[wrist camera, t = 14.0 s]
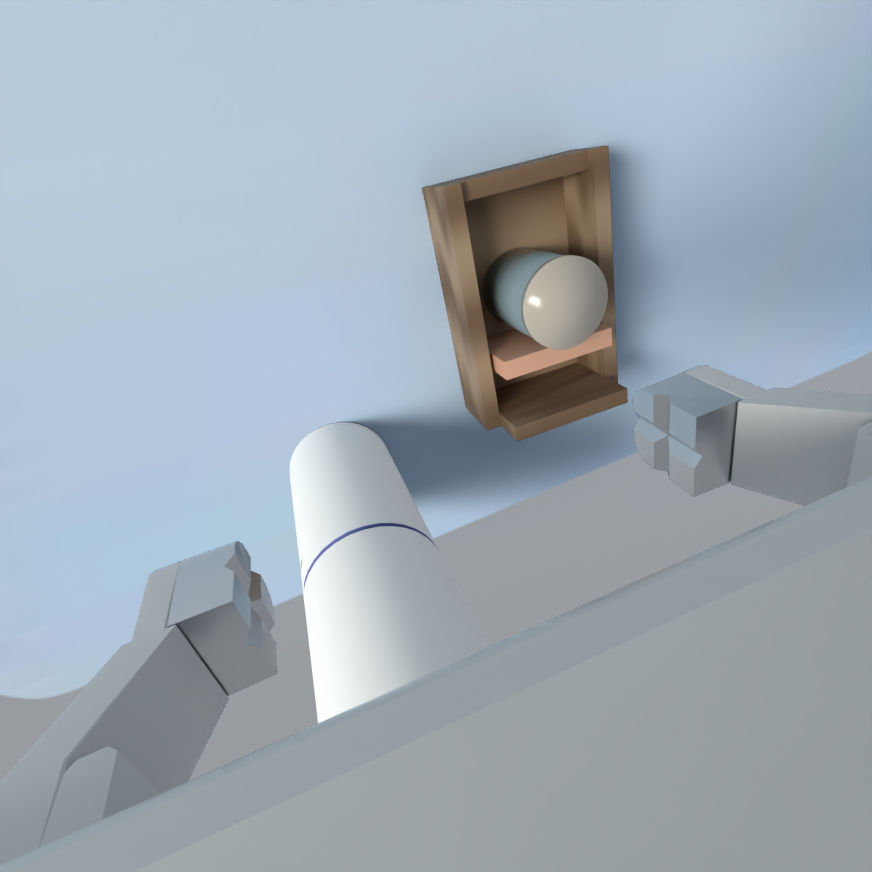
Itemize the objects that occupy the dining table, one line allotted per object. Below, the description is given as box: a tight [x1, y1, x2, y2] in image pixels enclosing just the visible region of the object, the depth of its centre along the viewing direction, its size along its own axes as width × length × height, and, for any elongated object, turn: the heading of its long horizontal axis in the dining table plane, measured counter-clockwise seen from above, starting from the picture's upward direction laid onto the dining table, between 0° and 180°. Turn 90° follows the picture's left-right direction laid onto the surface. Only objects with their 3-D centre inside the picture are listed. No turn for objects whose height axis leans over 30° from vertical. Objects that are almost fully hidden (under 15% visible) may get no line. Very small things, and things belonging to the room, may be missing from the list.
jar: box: [483, 248, 608, 350], centre depth 32 cm, size 5×5×6 cm
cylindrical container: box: [290, 422, 487, 723], centre depth 26 cm, size 7×7×25 cm
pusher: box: [487, 323, 612, 380], centre depth 34 cm, size 1×7×5 cm, turn 102°
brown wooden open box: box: [422, 146, 628, 441], centre depth 32 cm, size 15×10×7 cm, turn 12°
